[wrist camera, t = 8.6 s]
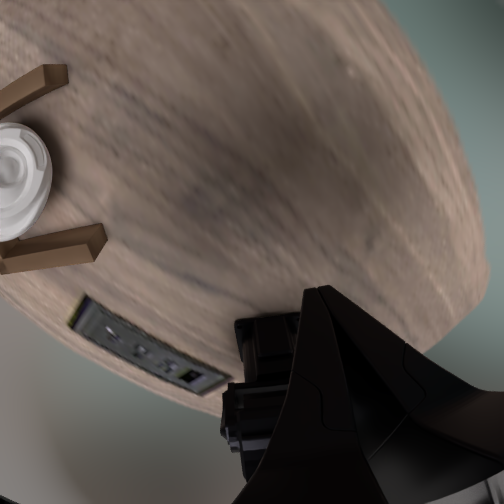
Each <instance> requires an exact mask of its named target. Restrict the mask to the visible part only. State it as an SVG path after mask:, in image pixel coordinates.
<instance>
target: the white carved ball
mask: <svg viewBox="0 0 504 504" xmlns="http://www.w3.org/2000/svg"><path fill="white" fill-rule="evenodd" d="M51 183H52V163H51V158H50V155H49V152H48V150H47V147H46V145H45V144H44V142H43V141H42V139H41V138H40V137H39V136H38V135H37V134H36V133H35V132H34V131H33V130H32V129H30V128H29V127H27V126H25V125H22V124H19V123H12V122H6V123H0V242H3V241H9V240H12V239H14V238H17V237H18V236H20V235H22V234H23V233H25V232H26V231H27V230H28V229H30V228H31V227H32V226H33V225H34V223H35V222H36V221H37V220H38V218H39V216H40V215H41V213H42V211H43V209H44V207H45V205H46V202H47V199H48V196H49V192H50V188H51Z"/></svg>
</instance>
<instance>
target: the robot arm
mask: <svg viewBox="0 0 504 504" xmlns="http://www.w3.org/2000/svg"><path fill="white" fill-rule="evenodd" d="M299 317H300V318H299ZM238 325H241V326H238ZM234 328H235V333H236V338H237V343H238V348H239V353H240V358H241V361H242V362H243V364H244V377H245V383H234V382H231V383H228V390H227V391H226V392H224V393H222V399H223V411H222V419H221V427H220V433H221V436H223V437H224V438H225V439H226V440H227V441H228V445H230V448H231V452H232V453H239V452H240V455H241V463H242V471H243V476H244V478H245V479H246V482H247V484H246V485H245V486H244V488H243V489H242V491H241V492H240V493H239V495H238V496H237V497H236V499H235V500H234V501H233V503H232V504H504V392H496V391H485V390H481V389H478V388H476V387H474V386H472V385H470V384H468V383H467V382H465V381H463V380H462V379H460V378H458V377H457V376H455V375H454V374H452V373H450V372H448V371H447V370H445V369H444V368H442V367H440V366H439V365H437V364H436V363H434V362H433V361H431V360H430V359H428V358H427V357H425V356H424V355H423V354H421V353H420V352H418V351H417V350H416V349H414V348H413V347H412V346H411V345H409V344H408V343H406V344H405V341H404V340H403V339H401V338H400V337H399V336H397V335H396V334H395V333H393V332H392V331H391V330H389V329H388V328H387V327H385V326H384V325H383V324H381V323H380V322H379V321H378V320H376V319H375V318H374V317H372V316H371V315H370V314H368V313H367V312H366V311H364V310H363V309H362V308H360V307H359V306H358V305H356V304H355V303H354V302H352V301H351V300H349V299H348V298H347V297H345V296H344V295H343V294H341V293H340V292H339V291H337V290H336V289H335V288H333V287H332V286H330V285H325V286H319V287H318V288H315V287H314V288H308V289H304V291H303V298H302V306H301V313H292V314H285V315H278V316H270V317H263V318H254V319H246V320H238V321H236V322H235V323H234ZM0 504H19V503H17V502H14V501H12V500H10V499H8V498H6V497H4V496H2V495H0Z"/></svg>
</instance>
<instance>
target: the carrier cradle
mask: <svg viewBox="0 0 504 504" xmlns="http://www.w3.org/2000/svg"><path fill="white" fill-rule="evenodd" d="M68 83H69V82H68V74H67V65H63V64H43V65H41V66H39V67H37V68H35V69H34V70H32V71H30V72H28V73H27V74H25V75H23V76H22V77H20V78H19V79H17V80H15V81H14V82H12V83H11V84H9V85H8V86H6V87H5V88H3V89H2V90H0V120H1V119H2V118H4V117H5V116H7V115H9V114H10V113H12V112H14V111H15V110H17V109H19V108H20V107H22V106H24V105H26V104H28V103H29V102H31V101H33V100H35V99H37V98H39V97H41V96H43V95H45V94H47V93H49V92H51V91H53V90H55V89H57V88H59V87H62V86H64V85H66V84H68ZM107 240H108V239H107V237H106V234H105V231H104V228H103V225H102V223H100V224H95V225H90V226H85V227H80V228H75V229H70V230H65V231H61V232H56V233H51V234H47V235H42V236H38V237H34V238H29V239H25V240H21V241H19V239H18V237H17V238H14V239H12V240H9V241H3V242H0V274H1V275H3V274H10V273H17V272H24V271H31V270H39V269H46V268H53V267H60V266H68V265H75V264H82V263H90V262H94V261H95V260H96V258H97V256H98V255H99V253H100V252H101V250H102V248H103V247H104V245H105V244H106V242H107Z"/></svg>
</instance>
